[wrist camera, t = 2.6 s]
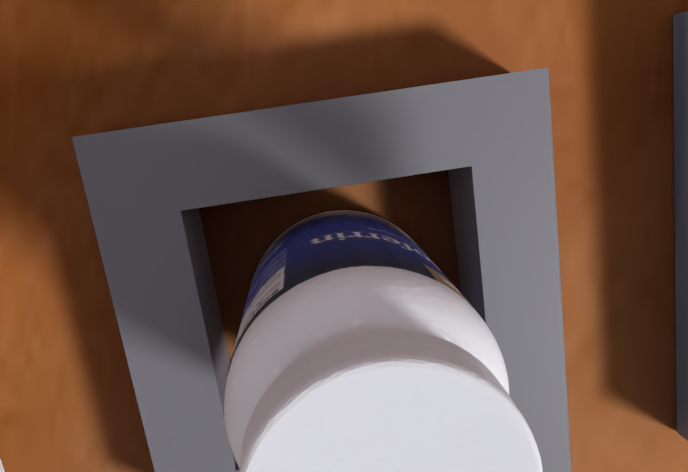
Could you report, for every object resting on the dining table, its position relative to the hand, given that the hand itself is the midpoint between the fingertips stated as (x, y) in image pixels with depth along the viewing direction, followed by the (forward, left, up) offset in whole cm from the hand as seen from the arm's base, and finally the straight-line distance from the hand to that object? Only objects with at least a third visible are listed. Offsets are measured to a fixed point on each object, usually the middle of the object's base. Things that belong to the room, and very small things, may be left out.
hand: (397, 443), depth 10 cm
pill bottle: (0, 0, -9) cm, 9 cm away
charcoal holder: (0, 0, -9) cm, 9 cm away
